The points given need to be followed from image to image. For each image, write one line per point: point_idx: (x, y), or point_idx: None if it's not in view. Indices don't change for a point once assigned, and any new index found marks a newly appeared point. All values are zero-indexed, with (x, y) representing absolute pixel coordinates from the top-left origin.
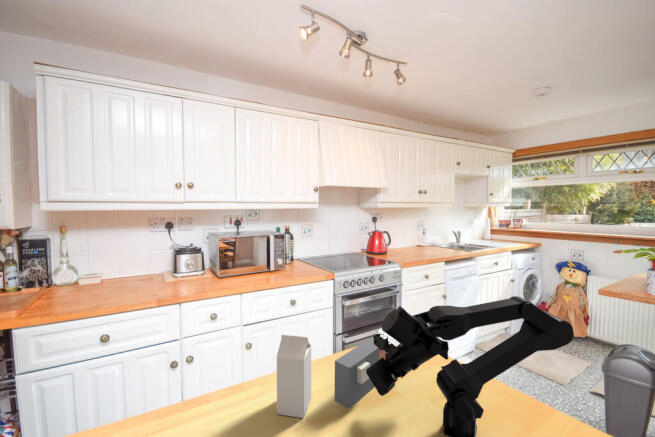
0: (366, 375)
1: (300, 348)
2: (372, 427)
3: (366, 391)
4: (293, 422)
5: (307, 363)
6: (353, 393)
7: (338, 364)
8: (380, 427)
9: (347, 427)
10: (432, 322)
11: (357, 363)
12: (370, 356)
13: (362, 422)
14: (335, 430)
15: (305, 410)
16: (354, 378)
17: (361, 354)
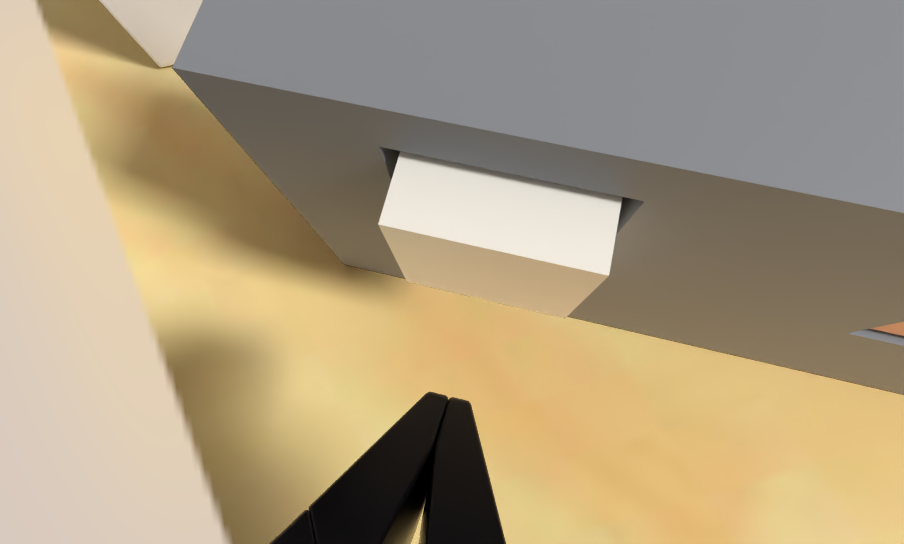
0: (501, 289)
1: None
2: (242, 472)
3: None
4: (120, 41)
5: None
6: (372, 246)
7: None
8: (263, 528)
9: (184, 318)
10: None
11: (380, 119)
12: (774, 219)
13: (261, 391)
14: (137, 263)
15: (178, 44)
16: (352, 195)
17: (661, 73)
